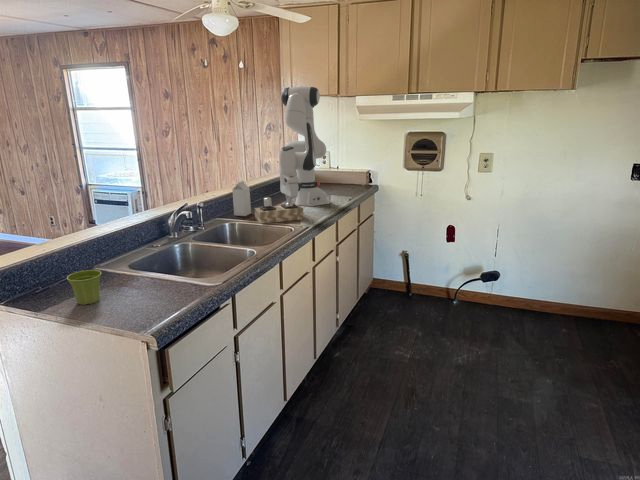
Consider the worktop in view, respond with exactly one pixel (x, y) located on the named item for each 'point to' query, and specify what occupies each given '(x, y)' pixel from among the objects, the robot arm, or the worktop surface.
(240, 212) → the milk carton
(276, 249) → the worktop surface
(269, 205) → the peg
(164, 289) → the worktop surface
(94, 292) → the plant pot
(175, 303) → the worktop surface
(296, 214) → the block
